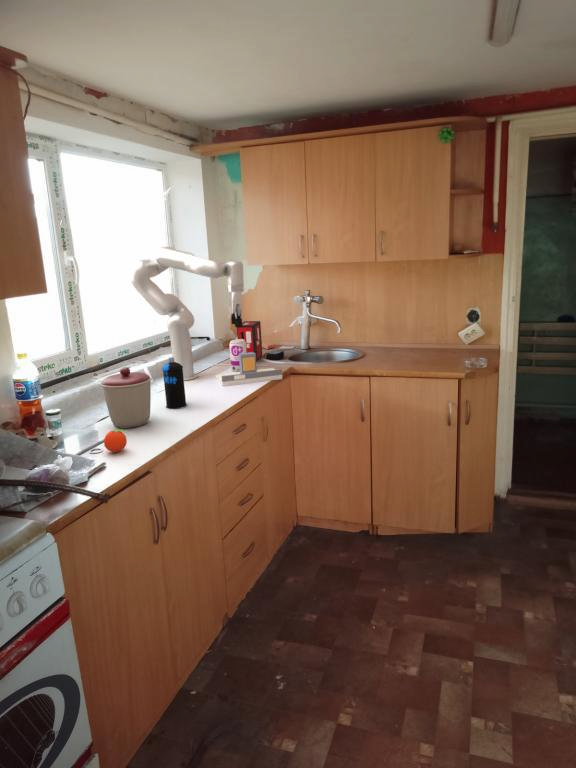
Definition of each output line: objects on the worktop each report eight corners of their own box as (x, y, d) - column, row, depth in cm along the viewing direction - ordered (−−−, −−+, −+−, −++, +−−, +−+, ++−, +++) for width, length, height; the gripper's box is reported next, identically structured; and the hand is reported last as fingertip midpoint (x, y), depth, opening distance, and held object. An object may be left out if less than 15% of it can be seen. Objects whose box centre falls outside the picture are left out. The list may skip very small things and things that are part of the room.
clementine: (129, 445, 185) (127, 424, 183) (132, 452, 178) (130, 430, 177) (104, 450, 182) (101, 429, 180) (106, 457, 175) (103, 435, 174)
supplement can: (245, 371, 281) (243, 341, 277) (229, 371, 283) (226, 342, 279) (249, 368, 289) (247, 338, 285) (234, 368, 290) (231, 339, 287)
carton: (240, 374, 267) (238, 353, 264) (254, 372, 269) (253, 352, 266) (242, 376, 262) (240, 355, 260) (257, 374, 264) (255, 353, 262)
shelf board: (222, 386, 255) (221, 376, 254) (216, 378, 270) (215, 369, 269) (282, 379, 262) (282, 369, 261) (273, 371, 277) (272, 362, 276)
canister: (95, 427, 205) (87, 370, 200) (133, 413, 220) (127, 360, 214) (129, 434, 195) (121, 375, 190) (167, 420, 210) (161, 364, 205)
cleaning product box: (247, 357, 317) (244, 321, 312) (262, 356, 315) (260, 320, 310) (239, 363, 301) (236, 325, 296) (255, 363, 299) (253, 325, 295)
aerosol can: (177, 402, 233) (172, 354, 228) (191, 405, 228) (186, 356, 223) (161, 407, 227) (156, 358, 222) (175, 410, 222) (169, 360, 217)
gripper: (224, 287, 267) (225, 323, 272) (230, 290, 251) (231, 328, 256) (240, 286, 269) (241, 322, 274) (247, 289, 253) (248, 328, 257)
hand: (236, 325), depth 265 cm, fingers open, 9 cm apart
